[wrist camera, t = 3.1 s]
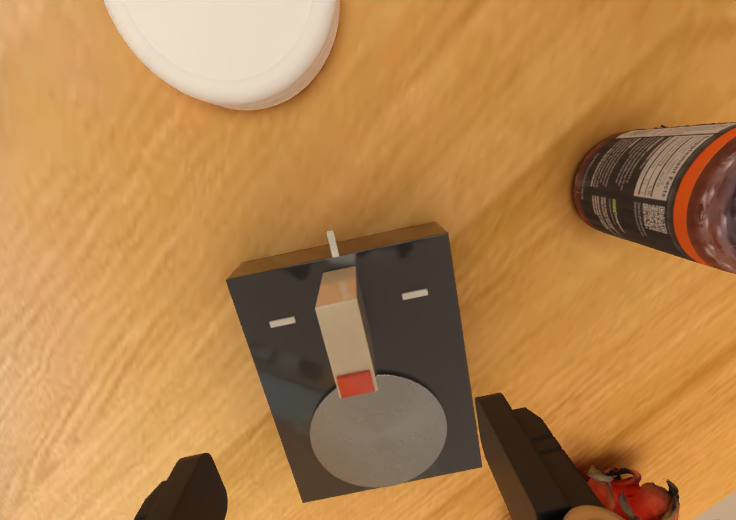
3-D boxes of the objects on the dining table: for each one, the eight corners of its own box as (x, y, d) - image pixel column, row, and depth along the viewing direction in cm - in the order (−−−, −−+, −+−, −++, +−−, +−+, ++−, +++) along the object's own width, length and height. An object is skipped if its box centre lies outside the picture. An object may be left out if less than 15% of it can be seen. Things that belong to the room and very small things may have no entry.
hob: (234, 241, 22) (215, 255, 19) (432, 198, 22) (445, 206, 19) (307, 465, 27) (302, 505, 24) (468, 433, 27) (483, 469, 24)
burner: (294, 387, 21) (293, 390, 21) (435, 358, 21) (436, 361, 21) (328, 494, 24) (328, 498, 24) (454, 469, 24) (455, 473, 24)
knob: (322, 272, 19) (313, 310, 15) (355, 265, 19) (356, 301, 15) (342, 347, 21) (339, 403, 16) (372, 340, 21) (379, 394, 16)
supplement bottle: (687, 176, 22) (1015, 204, 11) (609, 250, 23) (838, 341, 12) (626, 106, 21) (932, 59, 10) (547, 188, 22) (741, 228, 11)
